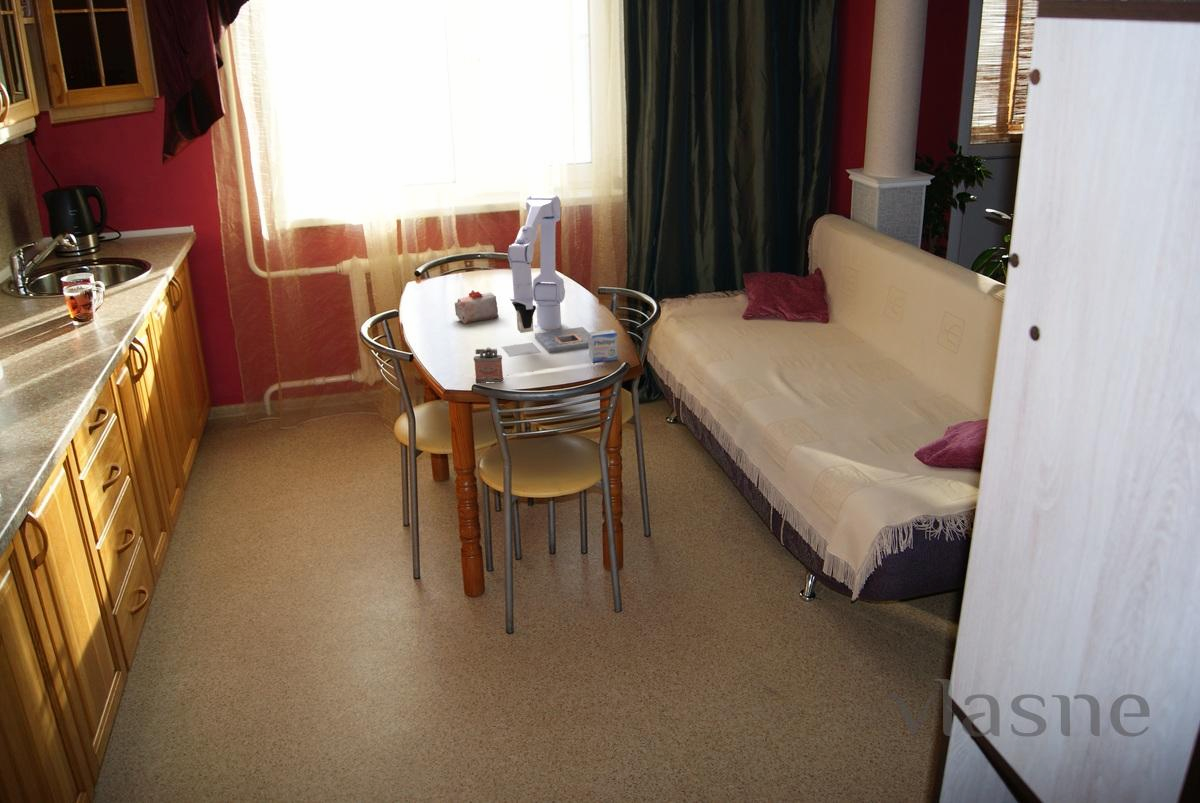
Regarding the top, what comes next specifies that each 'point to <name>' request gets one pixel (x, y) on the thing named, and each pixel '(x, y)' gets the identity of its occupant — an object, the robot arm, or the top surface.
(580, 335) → the hole plate
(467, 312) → the food item
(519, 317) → the peg
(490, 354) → the lighter
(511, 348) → the gray square plate
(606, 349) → the medicine box
